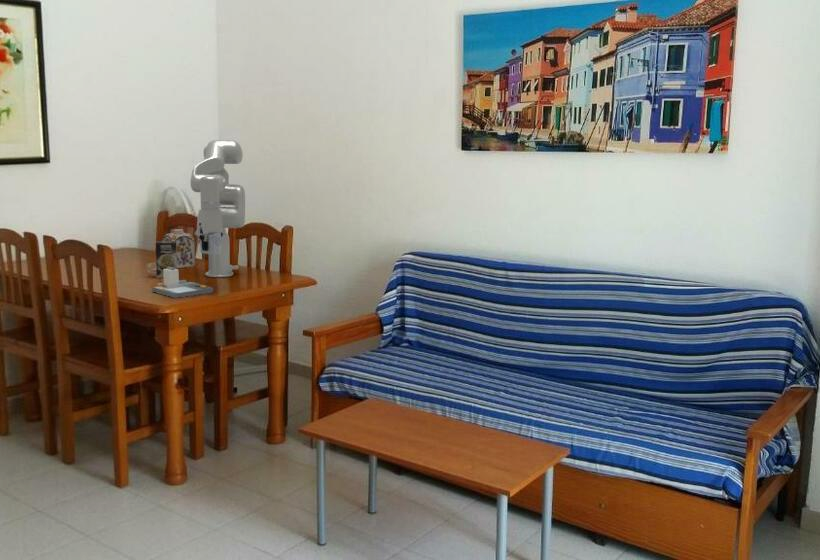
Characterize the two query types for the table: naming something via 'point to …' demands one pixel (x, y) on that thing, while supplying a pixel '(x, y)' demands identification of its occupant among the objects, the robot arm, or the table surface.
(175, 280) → the toggle
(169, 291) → the panel
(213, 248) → the medicine box
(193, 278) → the table surface
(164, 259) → the coffee box
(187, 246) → the decorative jar
